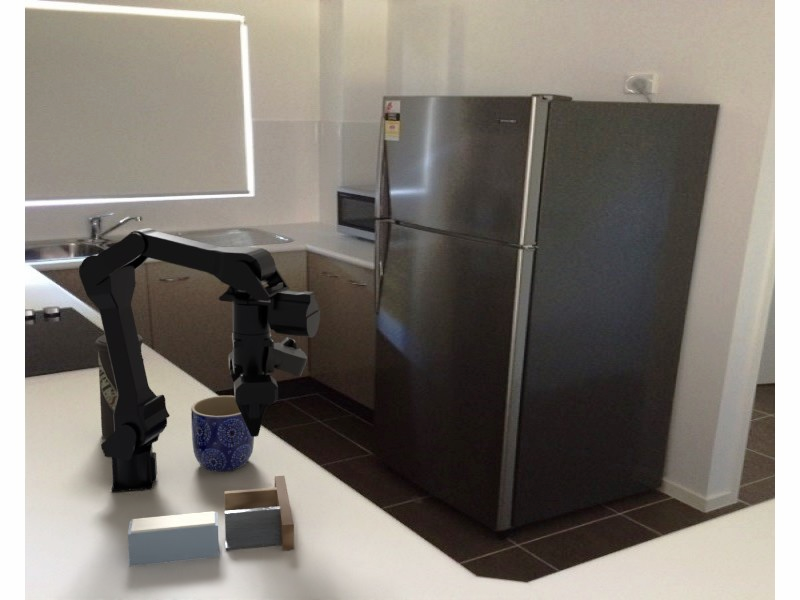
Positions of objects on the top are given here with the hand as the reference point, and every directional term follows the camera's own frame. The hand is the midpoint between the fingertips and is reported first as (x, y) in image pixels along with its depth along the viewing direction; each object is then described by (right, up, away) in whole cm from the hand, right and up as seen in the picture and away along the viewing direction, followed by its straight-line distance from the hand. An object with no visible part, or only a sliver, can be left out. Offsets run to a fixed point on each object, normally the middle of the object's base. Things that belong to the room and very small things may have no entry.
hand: (252, 424), depth 121 cm
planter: (-8, -10, +16) cm, 21 cm away
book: (-8, -16, -13) cm, 22 cm away
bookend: (+2, -16, -9) cm, 18 cm away
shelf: (+1, -15, -5) cm, 15 cm away
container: (-31, -6, +29) cm, 43 cm away
